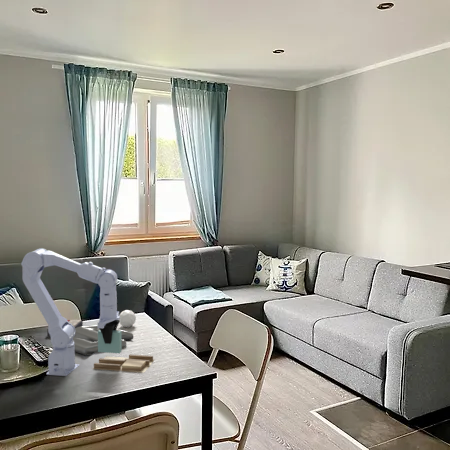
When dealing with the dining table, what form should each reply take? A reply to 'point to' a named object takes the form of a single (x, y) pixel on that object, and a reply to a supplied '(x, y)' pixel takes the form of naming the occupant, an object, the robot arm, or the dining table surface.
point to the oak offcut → (133, 364)
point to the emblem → (93, 339)
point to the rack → (122, 362)
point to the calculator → (74, 322)
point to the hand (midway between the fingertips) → (109, 342)
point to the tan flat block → (133, 368)
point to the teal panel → (113, 346)
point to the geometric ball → (127, 318)
